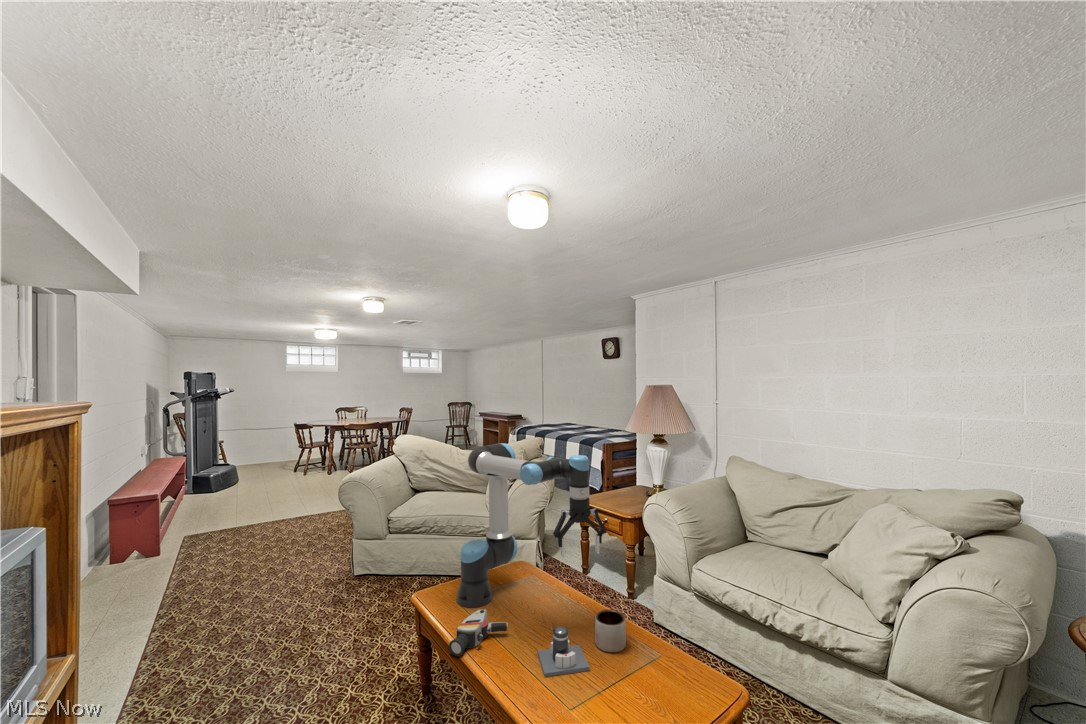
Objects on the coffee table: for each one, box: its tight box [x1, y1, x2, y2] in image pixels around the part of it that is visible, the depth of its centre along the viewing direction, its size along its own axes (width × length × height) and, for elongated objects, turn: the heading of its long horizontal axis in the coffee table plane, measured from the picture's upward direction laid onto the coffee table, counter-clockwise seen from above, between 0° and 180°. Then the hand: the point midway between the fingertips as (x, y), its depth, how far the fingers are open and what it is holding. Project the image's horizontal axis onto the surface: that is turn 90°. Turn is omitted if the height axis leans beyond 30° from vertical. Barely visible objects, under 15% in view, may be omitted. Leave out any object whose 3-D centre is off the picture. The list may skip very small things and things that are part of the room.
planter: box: [594, 609, 627, 654], centre depth 159 cm, size 11×11×10 cm
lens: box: [552, 626, 569, 661], centre depth 150 cm, size 5×5×9 cm
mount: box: [537, 639, 591, 678], centre depth 150 cm, size 12×15×5 cm
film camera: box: [448, 609, 509, 657], centre depth 160 cm, size 7×19×15 cm
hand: (580, 553), depth 168 cm, fingers open, 13 cm apart
